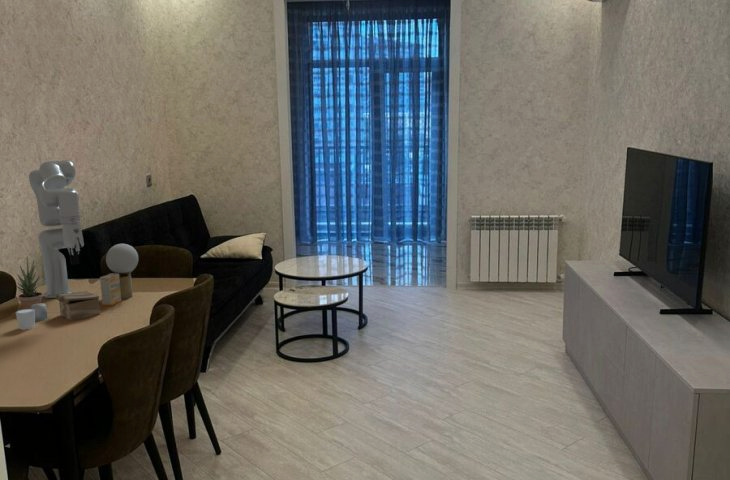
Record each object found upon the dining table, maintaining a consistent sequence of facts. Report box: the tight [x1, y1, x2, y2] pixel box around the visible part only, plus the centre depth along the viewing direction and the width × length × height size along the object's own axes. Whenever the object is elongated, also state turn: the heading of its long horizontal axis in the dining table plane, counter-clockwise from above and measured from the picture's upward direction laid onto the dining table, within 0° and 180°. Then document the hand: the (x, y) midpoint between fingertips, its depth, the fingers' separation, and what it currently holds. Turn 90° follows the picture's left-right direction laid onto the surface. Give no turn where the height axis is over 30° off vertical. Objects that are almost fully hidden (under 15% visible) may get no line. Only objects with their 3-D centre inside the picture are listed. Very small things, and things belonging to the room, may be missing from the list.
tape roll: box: [31, 302, 49, 322], centre depth 281 cm, size 6×6×6 cm
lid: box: [56, 290, 100, 305], centre depth 285 cm, size 12×13×2 cm
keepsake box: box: [58, 297, 101, 321], centre depth 286 cm, size 12×12×7 cm
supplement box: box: [99, 272, 122, 307], centre depth 302 cm, size 8×5×13 cm, turn 168°
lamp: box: [105, 243, 139, 301], centre depth 312 cm, size 15×14×25 cm
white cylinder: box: [15, 309, 36, 331], centre depth 269 cm, size 7×7×7 cm
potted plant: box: [16, 257, 44, 310], centre depth 292 cm, size 10×10×25 cm
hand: (75, 263), depth 280 cm, fingers closed
